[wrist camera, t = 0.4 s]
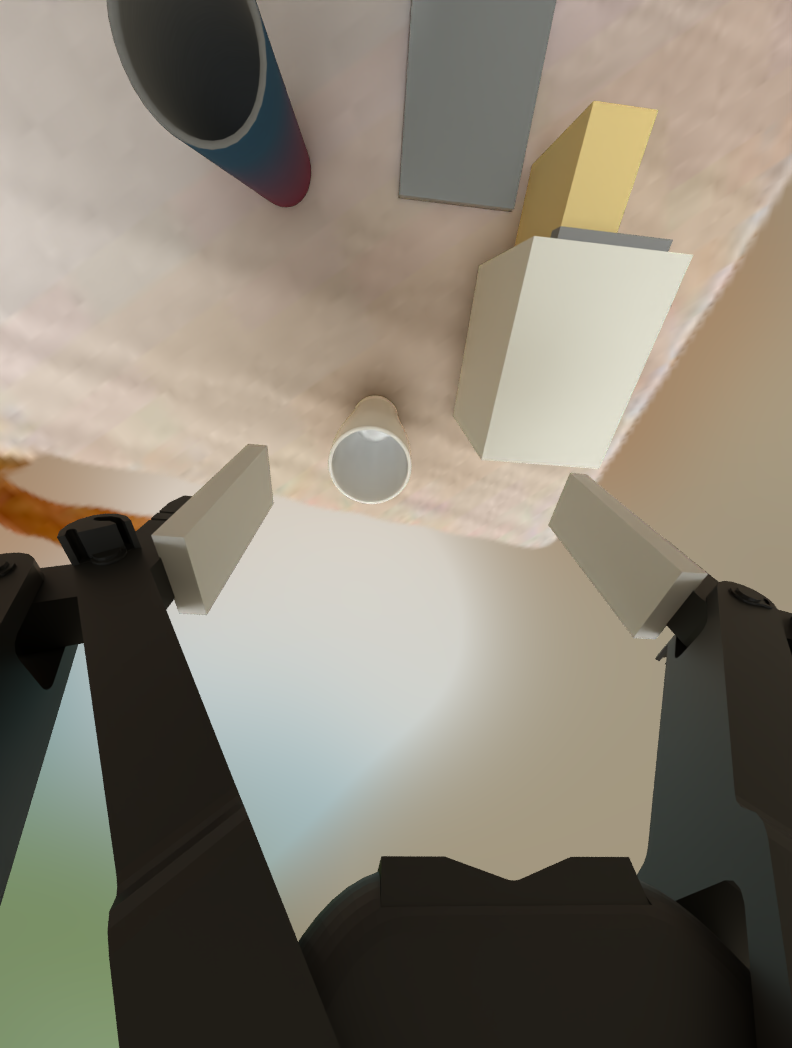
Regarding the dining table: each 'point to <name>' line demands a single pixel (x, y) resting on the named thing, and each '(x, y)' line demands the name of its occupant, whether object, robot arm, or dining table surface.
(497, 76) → the slate pad
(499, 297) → the box
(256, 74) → the cup
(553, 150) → the yellow rectangular block
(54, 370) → the dining table surface
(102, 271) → the dining table surface
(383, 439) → the drinking glass
